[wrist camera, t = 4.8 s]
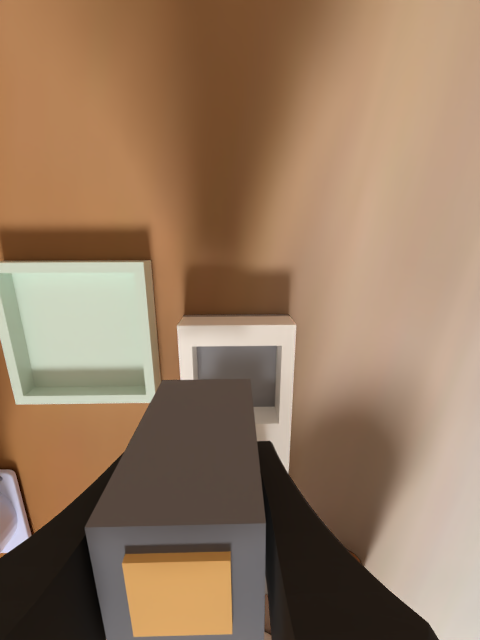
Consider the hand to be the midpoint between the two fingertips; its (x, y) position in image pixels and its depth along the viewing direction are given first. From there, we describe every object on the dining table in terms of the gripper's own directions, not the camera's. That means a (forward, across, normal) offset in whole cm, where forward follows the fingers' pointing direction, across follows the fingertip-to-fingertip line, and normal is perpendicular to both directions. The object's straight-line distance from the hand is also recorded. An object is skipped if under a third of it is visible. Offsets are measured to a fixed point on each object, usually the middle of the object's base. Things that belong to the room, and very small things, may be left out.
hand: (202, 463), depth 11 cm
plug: (+3, 0, 0) cm, 3 cm away
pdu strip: (+10, -1, +5) cm, 11 cm away
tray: (+10, +9, -2) cm, 13 cm away
